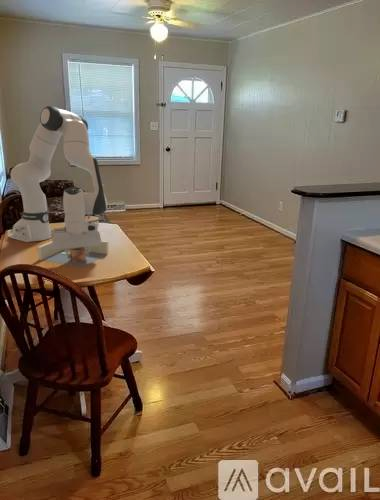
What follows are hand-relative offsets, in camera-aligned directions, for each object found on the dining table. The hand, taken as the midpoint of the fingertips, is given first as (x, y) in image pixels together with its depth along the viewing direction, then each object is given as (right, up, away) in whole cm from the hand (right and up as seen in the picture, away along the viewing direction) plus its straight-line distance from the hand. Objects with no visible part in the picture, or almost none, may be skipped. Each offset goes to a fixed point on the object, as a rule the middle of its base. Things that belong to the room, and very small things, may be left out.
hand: (78, 256), depth 166 cm
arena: (-3, -1, +6) cm, 6 cm away
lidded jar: (-7, +13, +47) cm, 49 cm away
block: (0, -2, +1) cm, 2 cm away
